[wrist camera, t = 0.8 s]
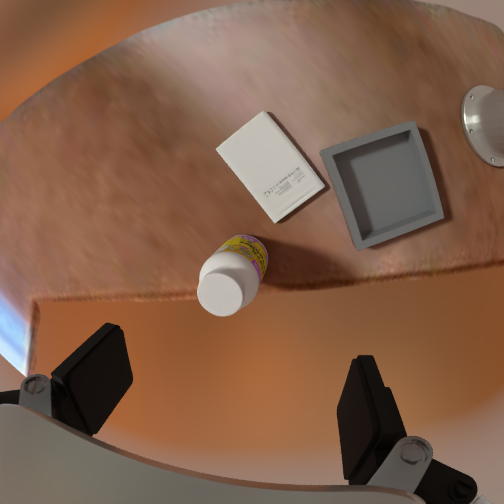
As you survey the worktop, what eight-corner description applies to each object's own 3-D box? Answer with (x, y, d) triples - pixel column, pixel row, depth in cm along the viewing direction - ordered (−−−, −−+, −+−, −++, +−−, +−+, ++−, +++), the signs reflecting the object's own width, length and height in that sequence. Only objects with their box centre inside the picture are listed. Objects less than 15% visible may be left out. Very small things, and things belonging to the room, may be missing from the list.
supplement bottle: (278, 263, 39) (267, 306, 27) (240, 287, 41) (215, 335, 29) (249, 223, 38) (224, 250, 26) (212, 250, 40) (175, 285, 28)
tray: (406, 123, 30) (414, 120, 28) (434, 214, 33) (444, 217, 30) (319, 151, 34) (320, 150, 31) (353, 244, 36) (357, 251, 34)
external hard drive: (265, 112, 34) (324, 185, 36) (218, 150, 36) (275, 221, 38) (264, 109, 32) (325, 186, 34) (214, 149, 35) (274, 224, 36)
